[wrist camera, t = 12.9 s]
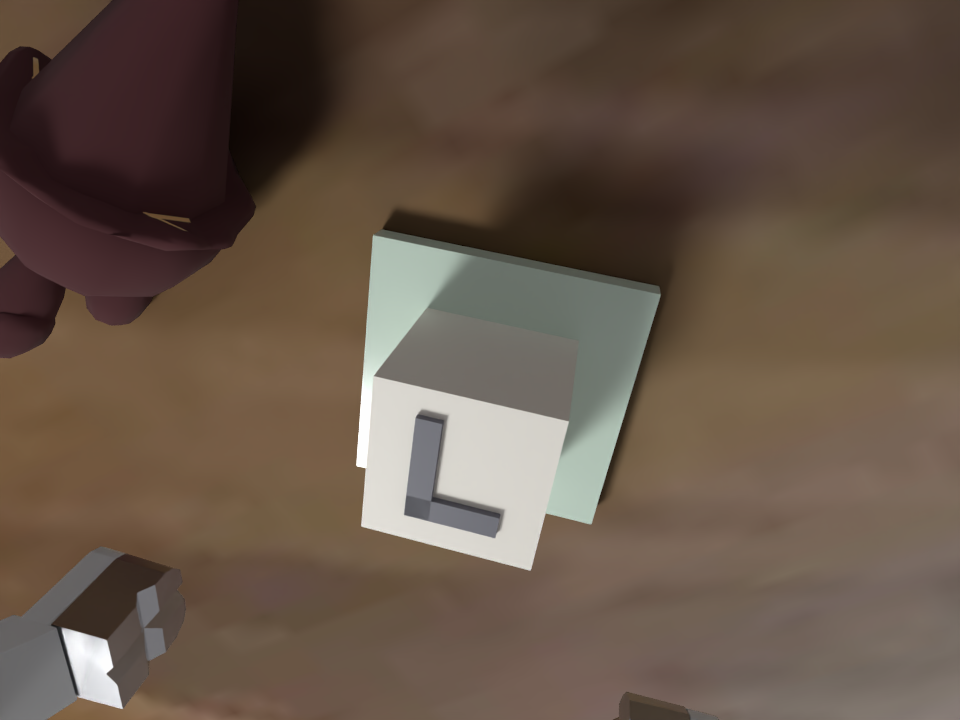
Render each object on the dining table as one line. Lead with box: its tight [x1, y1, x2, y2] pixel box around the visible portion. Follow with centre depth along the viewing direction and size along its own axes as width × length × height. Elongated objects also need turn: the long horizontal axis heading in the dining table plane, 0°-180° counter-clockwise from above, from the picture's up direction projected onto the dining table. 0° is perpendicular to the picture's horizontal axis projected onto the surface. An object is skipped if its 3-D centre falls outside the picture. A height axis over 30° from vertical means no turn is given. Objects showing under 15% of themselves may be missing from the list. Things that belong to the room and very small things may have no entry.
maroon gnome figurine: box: [0, 0, 256, 358], centre depth 17 cm, size 7×7×15 cm
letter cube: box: [361, 308, 579, 571], centre depth 18 cm, size 5×5×5 cm
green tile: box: [357, 229, 661, 524], centre depth 21 cm, size 9×9×1 cm
